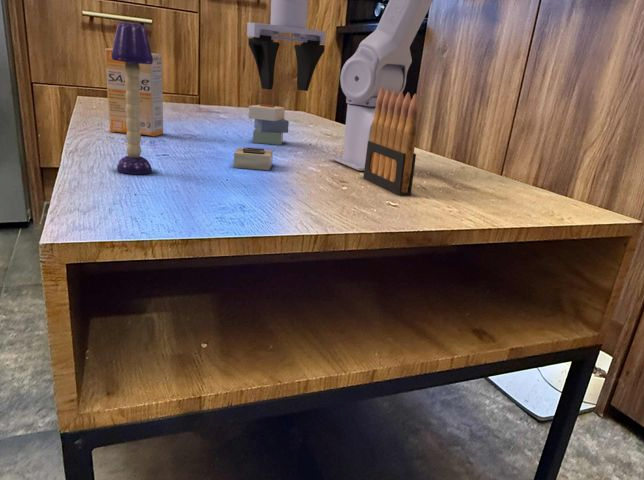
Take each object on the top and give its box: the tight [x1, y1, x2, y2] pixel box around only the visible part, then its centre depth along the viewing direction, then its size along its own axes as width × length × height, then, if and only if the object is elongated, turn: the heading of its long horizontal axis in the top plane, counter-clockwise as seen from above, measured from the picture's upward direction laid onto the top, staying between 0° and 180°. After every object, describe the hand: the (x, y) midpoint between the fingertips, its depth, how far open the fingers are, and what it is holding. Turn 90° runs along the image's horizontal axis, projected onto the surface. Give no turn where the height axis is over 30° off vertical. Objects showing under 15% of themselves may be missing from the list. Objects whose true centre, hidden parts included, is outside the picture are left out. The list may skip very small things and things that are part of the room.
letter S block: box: [233, 146, 274, 171], centre depth 86 cm, size 5×5×2 cm
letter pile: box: [248, 104, 290, 146], centre depth 108 cm, size 7×7×6 cm
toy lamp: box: [111, 21, 153, 175], centre depth 72 cm, size 5×5×17 cm
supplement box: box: [104, 48, 164, 137], centre depth 102 cm, size 8×5×13 cm, turn 81°
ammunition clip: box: [362, 87, 419, 196], centre depth 78 cm, size 11×2×12 cm, turn 22°
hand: (285, 89), depth 99 cm, fingers open, 7 cm apart
